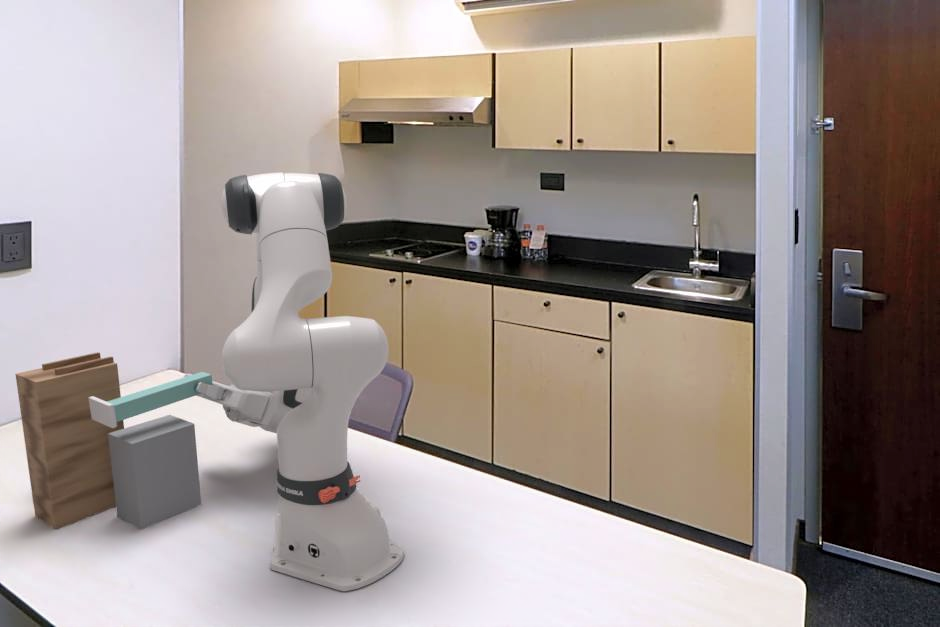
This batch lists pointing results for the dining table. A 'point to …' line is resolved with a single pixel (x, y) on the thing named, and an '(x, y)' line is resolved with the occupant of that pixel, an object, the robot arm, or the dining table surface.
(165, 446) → the upright gray brick
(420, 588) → the dining table surface
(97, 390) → the upright wood-grain block
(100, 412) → the scraper
